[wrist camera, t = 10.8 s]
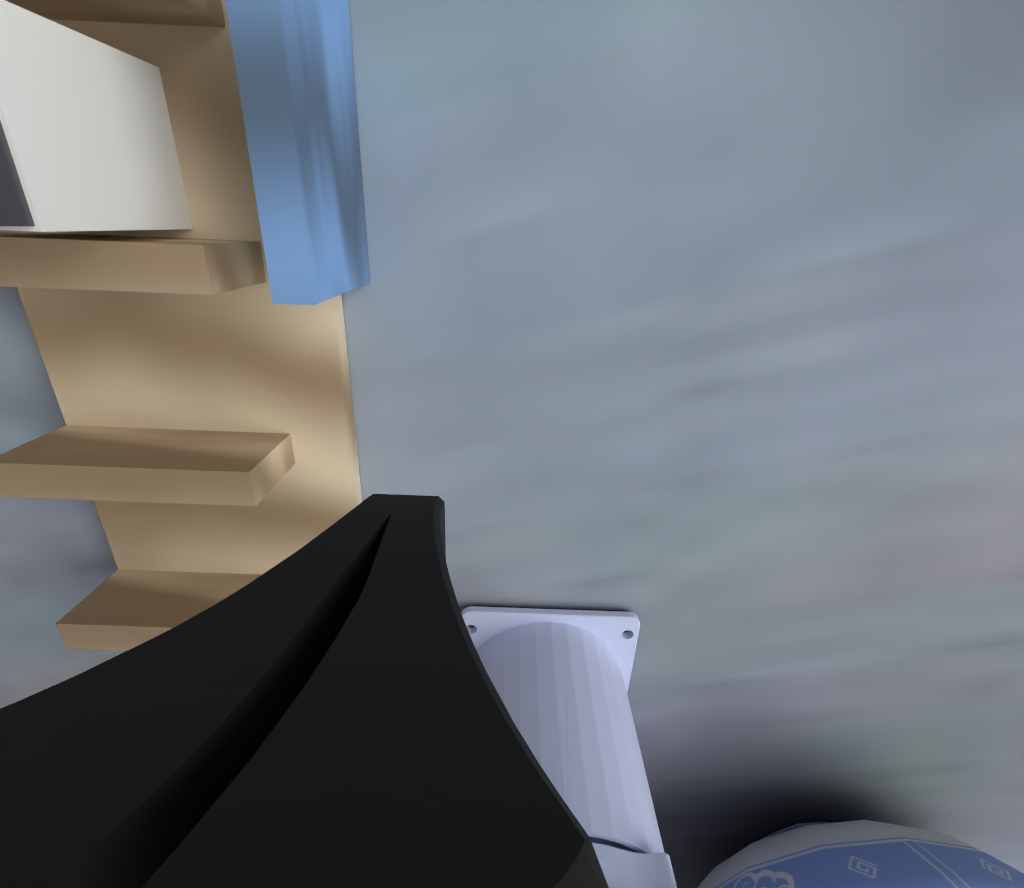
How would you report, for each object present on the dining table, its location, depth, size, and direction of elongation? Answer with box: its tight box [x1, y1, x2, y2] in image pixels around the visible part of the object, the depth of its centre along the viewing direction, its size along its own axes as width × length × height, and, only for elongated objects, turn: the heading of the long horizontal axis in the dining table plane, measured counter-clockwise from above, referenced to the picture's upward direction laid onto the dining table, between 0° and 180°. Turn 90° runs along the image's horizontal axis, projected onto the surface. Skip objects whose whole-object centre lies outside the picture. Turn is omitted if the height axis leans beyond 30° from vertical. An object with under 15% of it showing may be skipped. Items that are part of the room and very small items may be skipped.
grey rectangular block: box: [0, 0, 193, 232], centre depth 11 cm, size 4×4×6 cm
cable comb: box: [0, 0, 370, 651], centre depth 15 cm, size 20×11×5 cm, turn 178°
